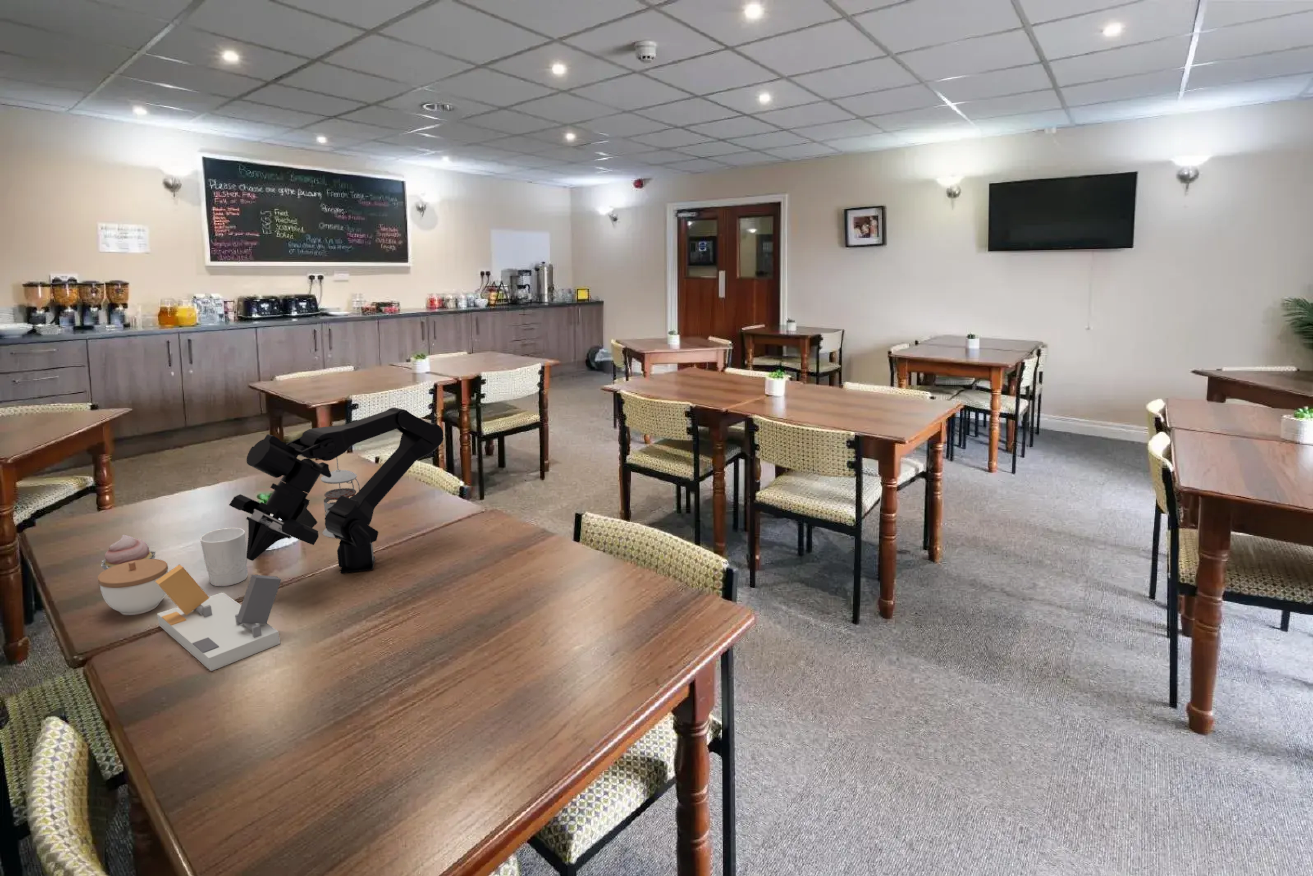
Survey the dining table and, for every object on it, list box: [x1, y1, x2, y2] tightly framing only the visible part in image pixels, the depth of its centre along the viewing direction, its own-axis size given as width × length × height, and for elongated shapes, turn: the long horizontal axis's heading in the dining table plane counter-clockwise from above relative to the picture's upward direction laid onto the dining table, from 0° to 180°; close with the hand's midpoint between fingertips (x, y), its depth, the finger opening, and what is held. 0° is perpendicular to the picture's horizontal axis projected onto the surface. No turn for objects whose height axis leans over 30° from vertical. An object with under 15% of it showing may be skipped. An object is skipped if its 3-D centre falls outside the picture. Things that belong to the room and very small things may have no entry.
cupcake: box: [100, 534, 157, 571], centre depth 145 cm, size 9×9×10 cm
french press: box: [320, 457, 361, 539], centre depth 172 cm, size 10×12×25 cm
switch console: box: [156, 592, 281, 672], centre depth 126 cm, size 11×23×4 cm, turn 52°
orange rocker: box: [155, 564, 209, 615], centre depth 127 cm, size 4×5×9 cm
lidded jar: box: [97, 558, 169, 616], centre depth 134 cm, size 11×11×9 cm
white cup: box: [199, 527, 249, 587], centre depth 146 cm, size 8×8×10 cm
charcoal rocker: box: [237, 574, 282, 631], centre depth 124 cm, size 4×5×9 cm
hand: (249, 559), depth 135 cm, fingers closed
